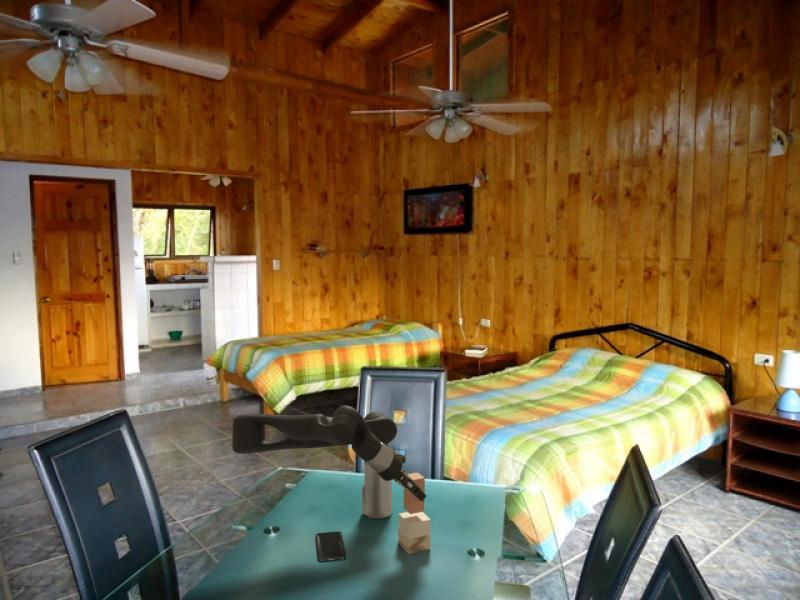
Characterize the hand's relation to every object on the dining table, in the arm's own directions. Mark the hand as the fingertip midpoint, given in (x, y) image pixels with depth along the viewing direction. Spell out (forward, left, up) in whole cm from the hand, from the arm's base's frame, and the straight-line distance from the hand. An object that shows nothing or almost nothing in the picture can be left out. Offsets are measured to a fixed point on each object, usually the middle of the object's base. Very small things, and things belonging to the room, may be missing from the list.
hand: (419, 494), depth 168 cm
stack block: (-2, -1, -4) cm, 4 cm away
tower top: (-1, -1, -11) cm, 11 cm away
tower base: (-1, -1, -15) cm, 15 cm away
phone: (-24, -9, -16) cm, 30 cm away
